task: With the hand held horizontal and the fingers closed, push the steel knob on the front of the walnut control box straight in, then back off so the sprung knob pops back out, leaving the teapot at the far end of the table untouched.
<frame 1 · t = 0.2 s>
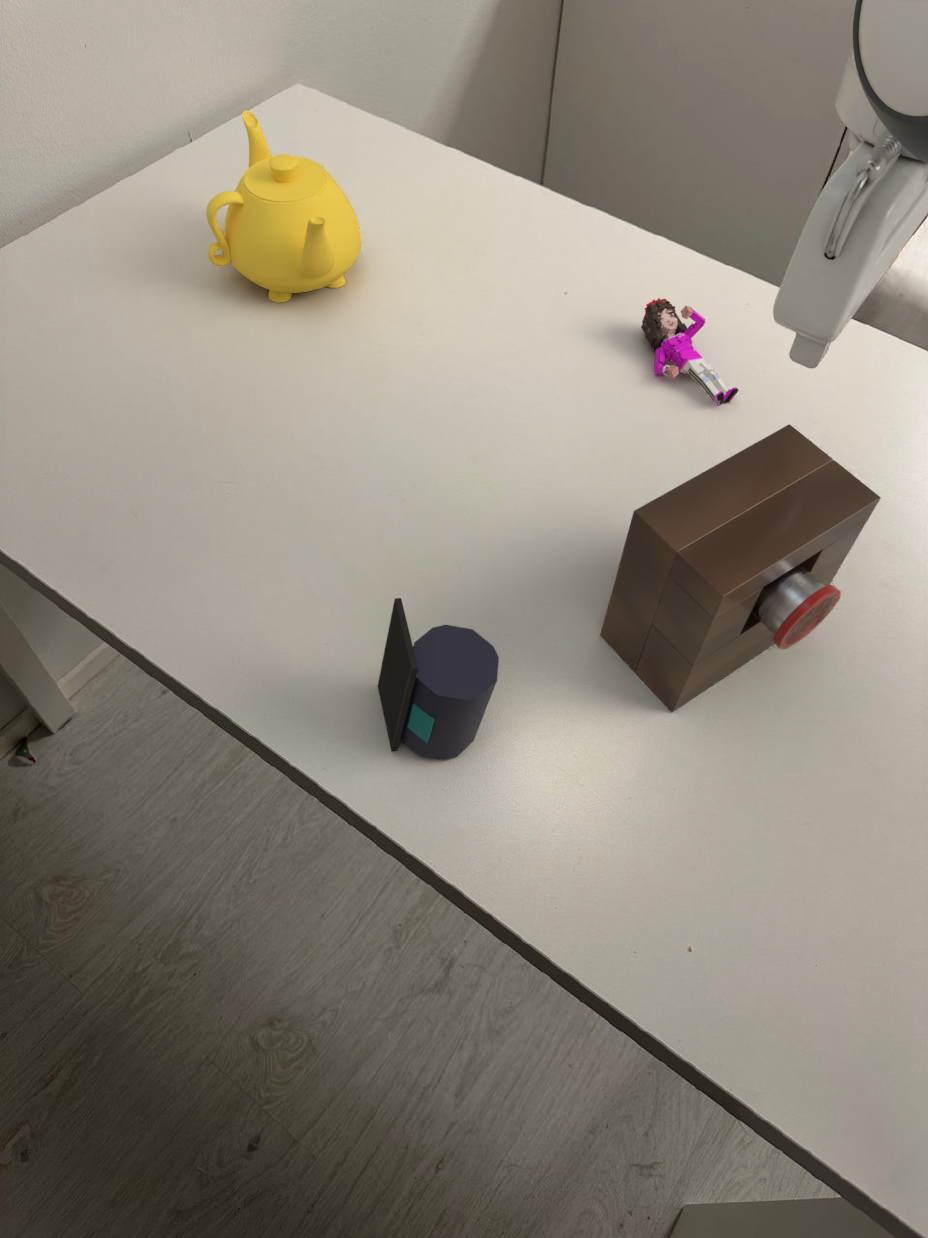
hand: (836, 317, 58), 22 cm above the table, tool pointing down, fingers open, 8 cm apart
speaker: (435, 718, 66), on the table
control box: (704, 628, 71), on the table
teapot: (288, 275, 94), on the table
character figurine: (679, 370, 88), on the table
knob: (787, 599, 61), point 9 cm above the table, slide at -0.1 cm
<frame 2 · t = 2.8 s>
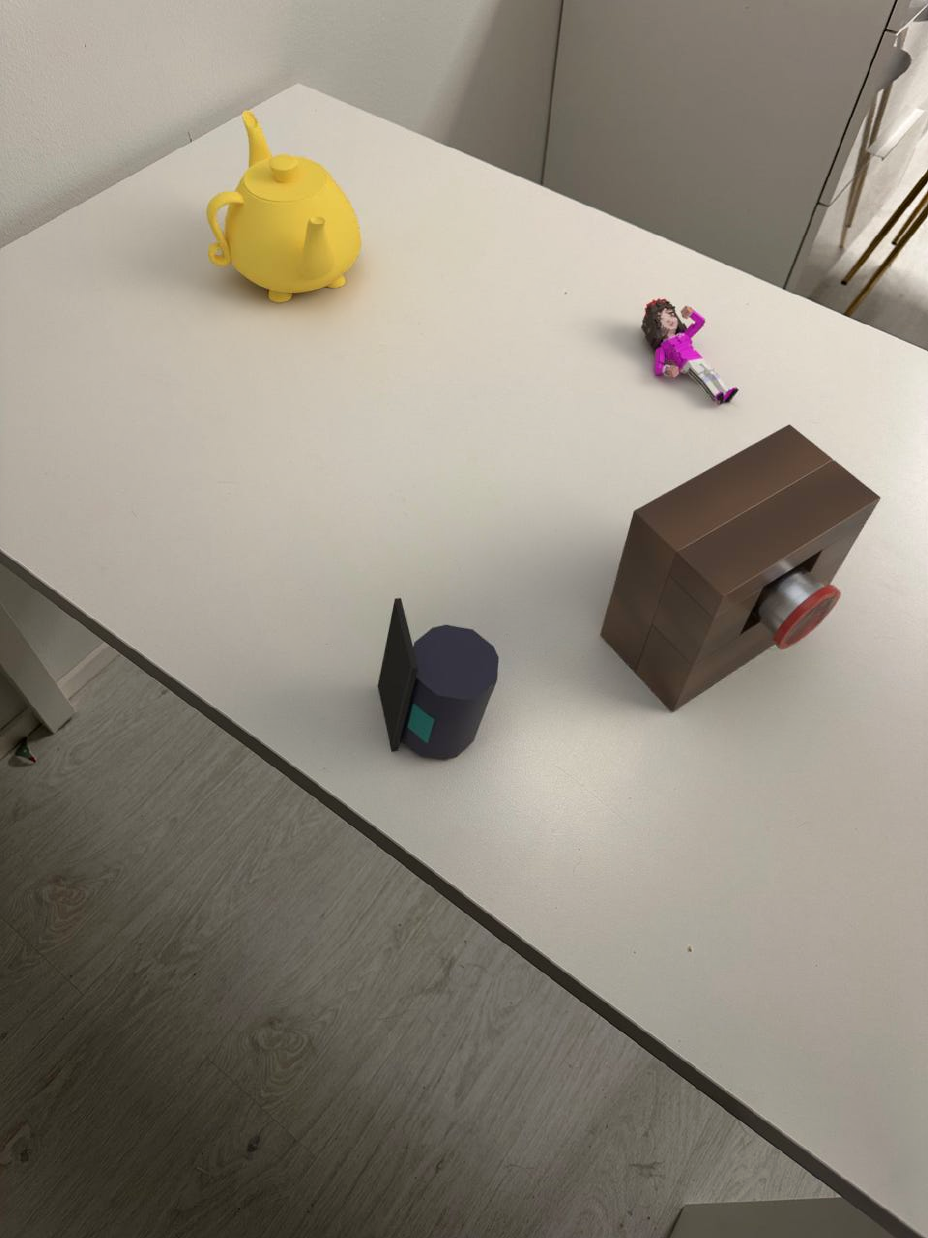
nothing on the table moved.
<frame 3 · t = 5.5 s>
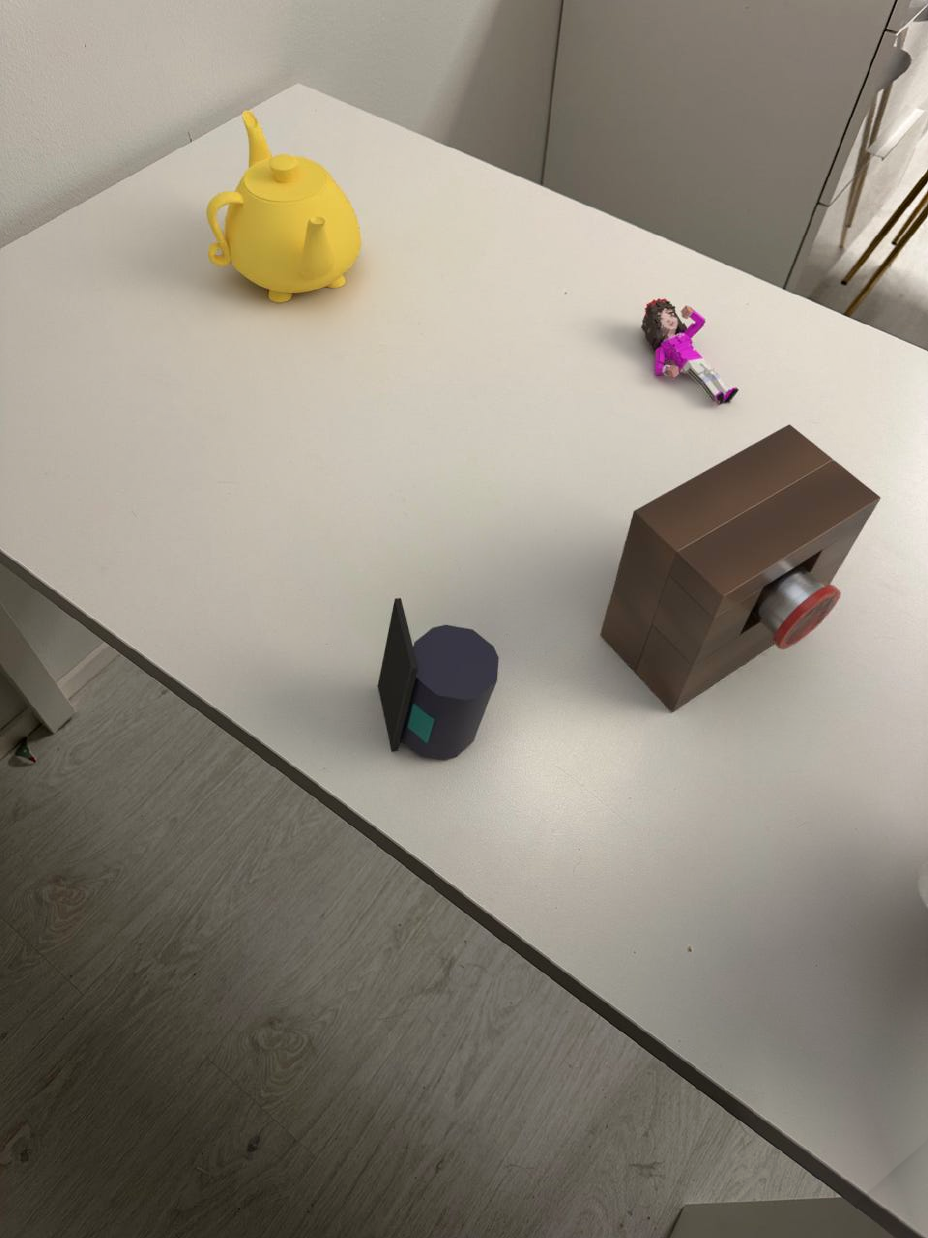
nothing on the table moved.
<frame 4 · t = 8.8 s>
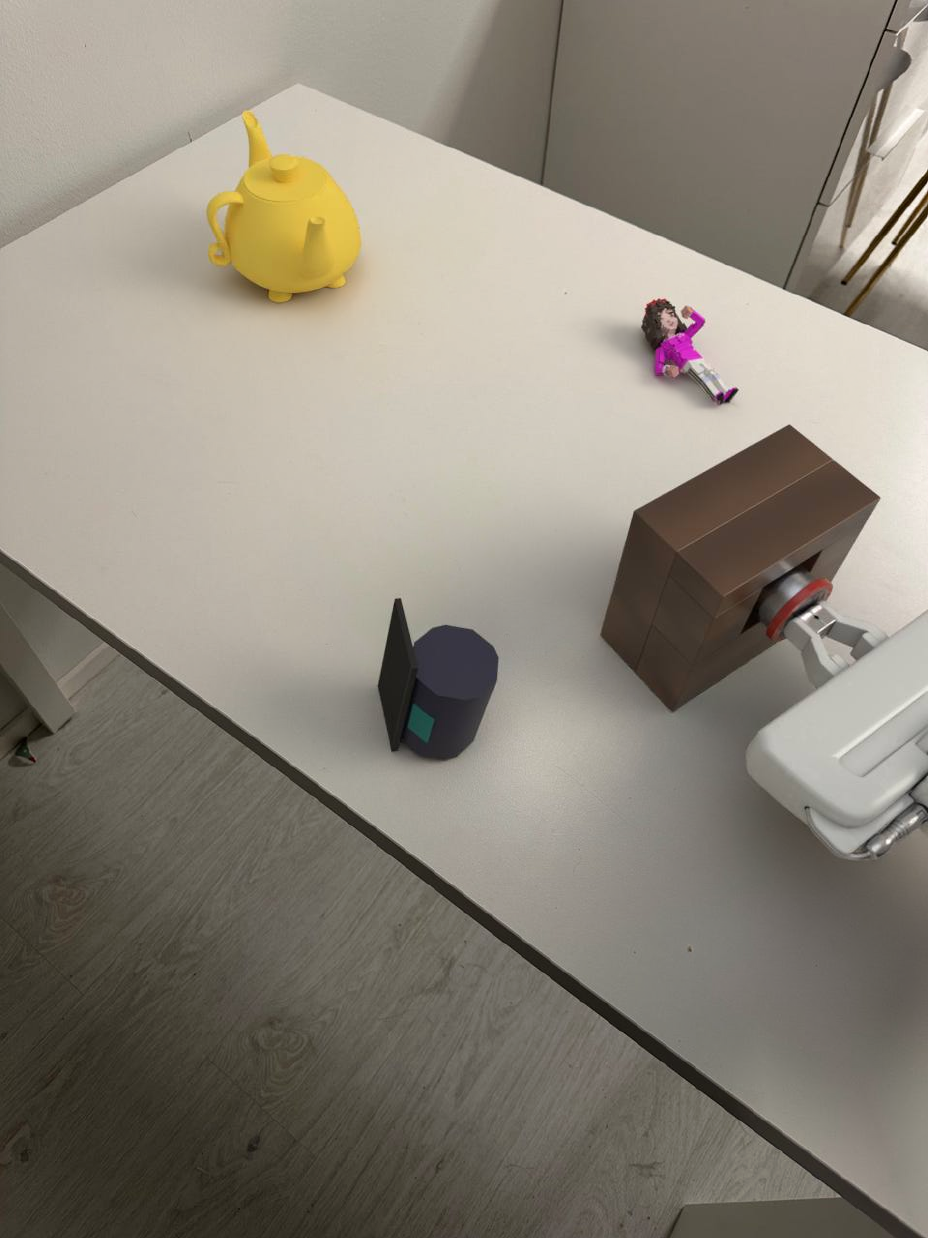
hand: (801, 615, 61), 9 cm above the table, tool horizontal, fingers closed, pressing on knob
knob: (780, 592, 62), point 9 cm above the table, slide at 0.5 cm, touching gripper
everything else where it was.
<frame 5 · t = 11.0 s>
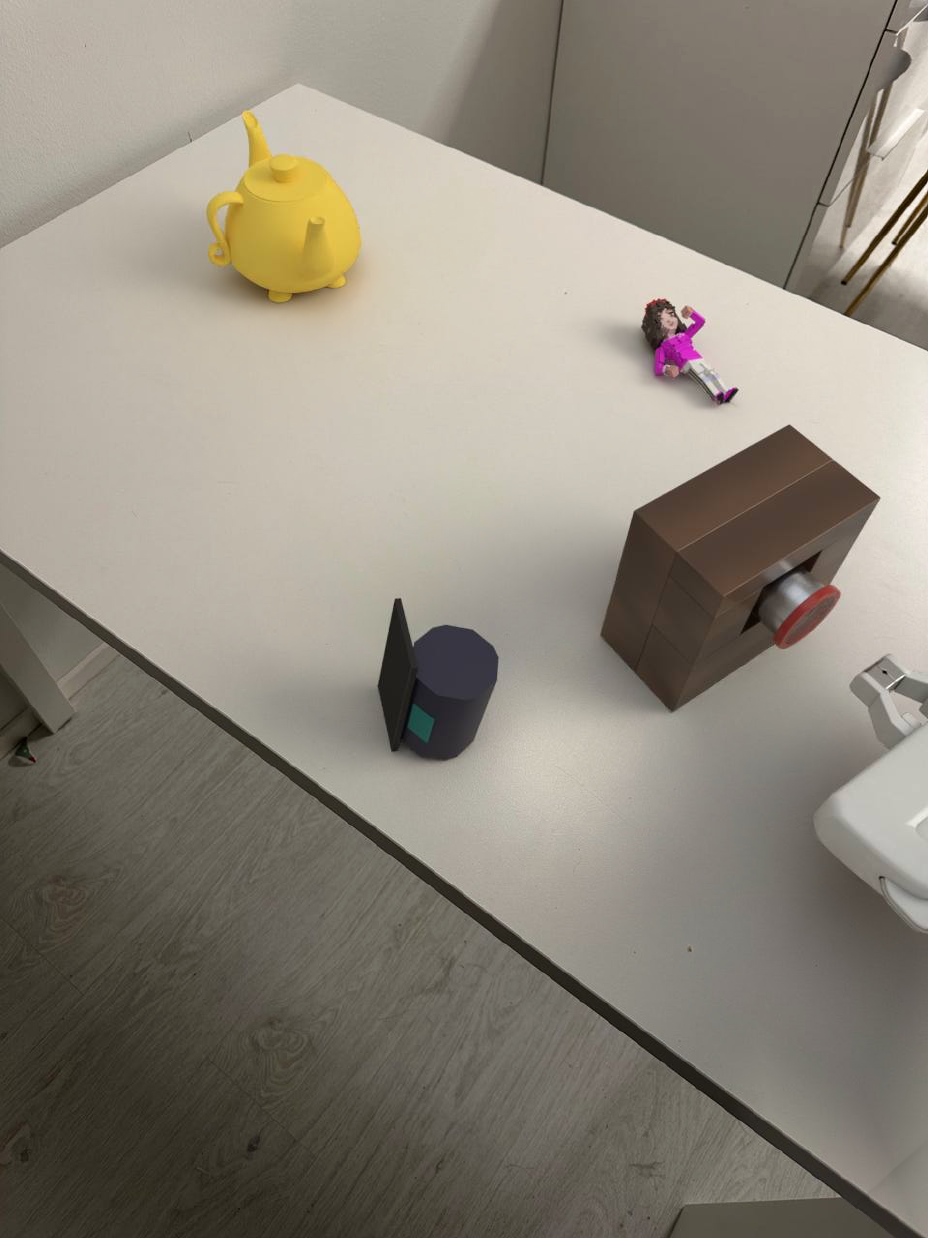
hand: (867, 669, 59), 9 cm above the table, tool horizontal, fingers closed
knob: (787, 599, 61), point 9 cm above the table, slide at -0.1 cm
everything else where it was.
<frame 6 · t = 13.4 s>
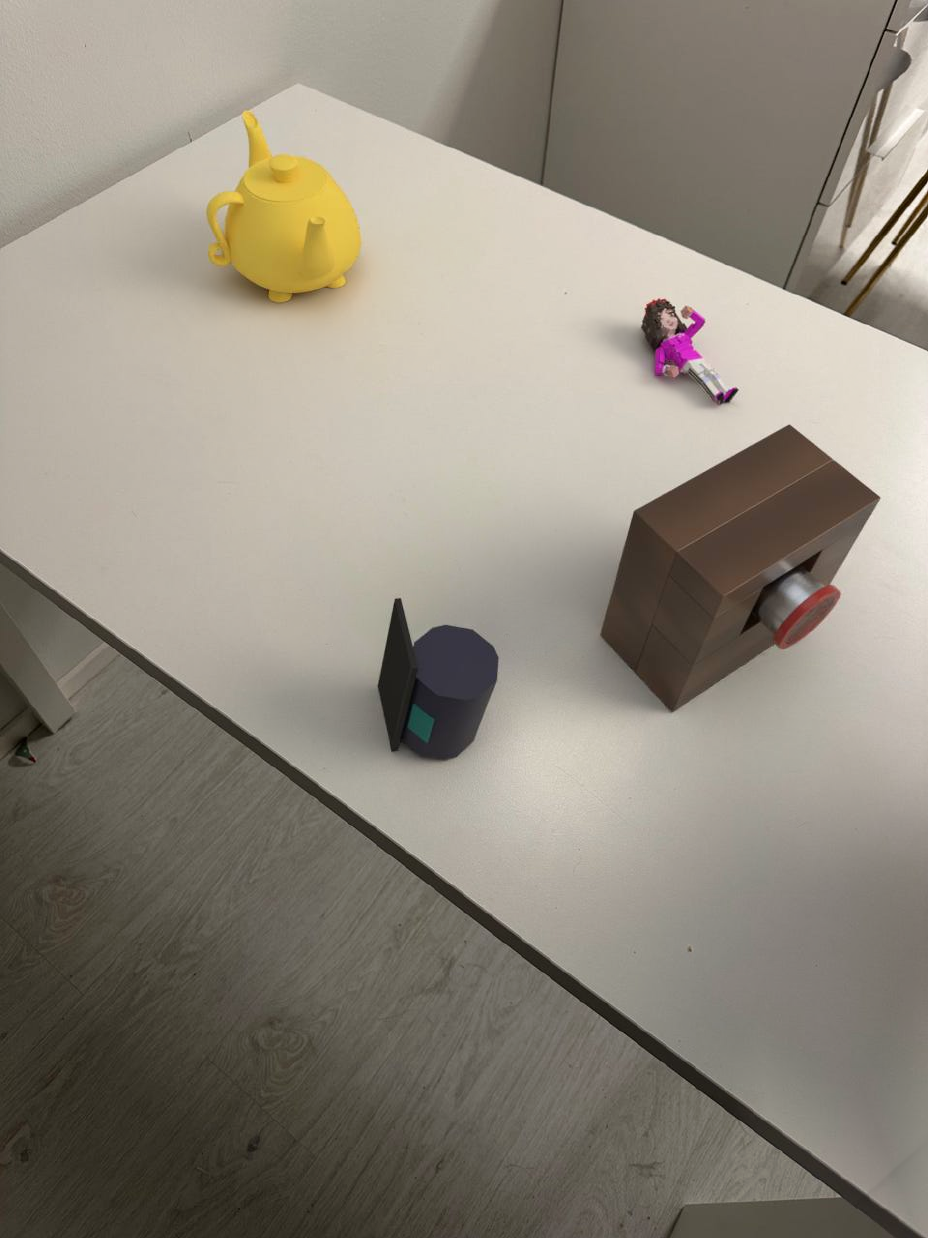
nothing on the table moved.
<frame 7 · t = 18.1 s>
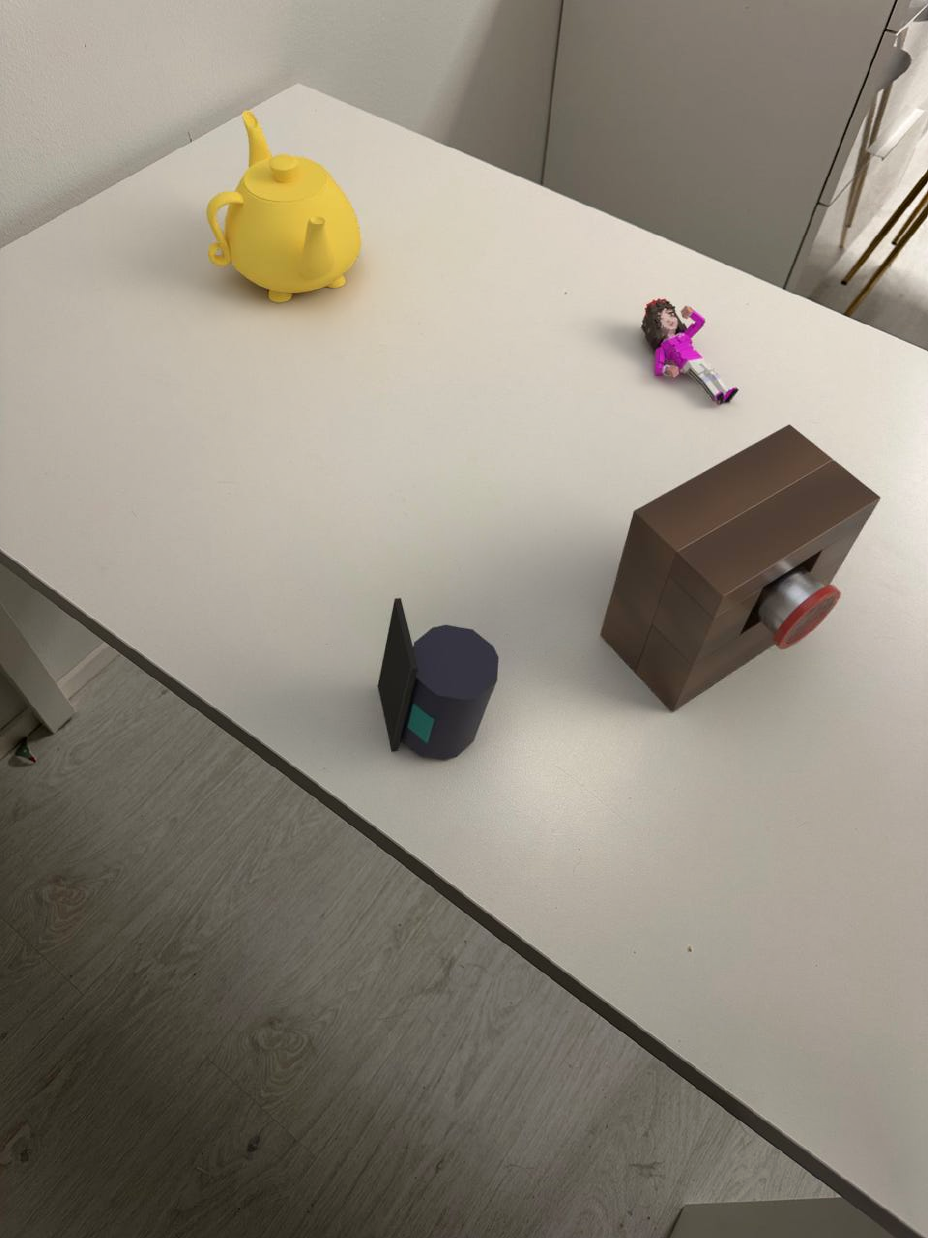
nothing on the table moved.
at the end: knob pulled out 1.2 cm at the most during the clip, back to where it started at the end; knob slide at -0.1 cm; teapot moved 0.2 cm from its start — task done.
